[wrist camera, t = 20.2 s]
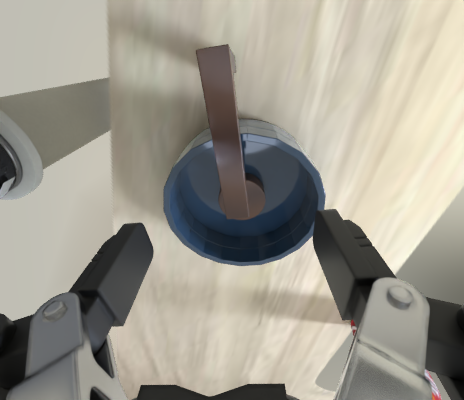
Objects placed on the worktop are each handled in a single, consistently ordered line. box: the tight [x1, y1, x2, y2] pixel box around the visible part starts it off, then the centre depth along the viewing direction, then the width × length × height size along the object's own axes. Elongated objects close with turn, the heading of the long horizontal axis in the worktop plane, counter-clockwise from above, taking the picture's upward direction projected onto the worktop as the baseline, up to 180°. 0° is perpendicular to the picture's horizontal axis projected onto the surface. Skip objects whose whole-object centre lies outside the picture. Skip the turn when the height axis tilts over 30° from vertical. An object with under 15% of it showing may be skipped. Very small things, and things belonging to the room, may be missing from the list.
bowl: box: [164, 119, 326, 266], centre depth 22 cm, size 14×14×4 cm
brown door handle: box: [196, 44, 266, 220], centre depth 17 cm, size 14×5×8 cm, turn 8°
